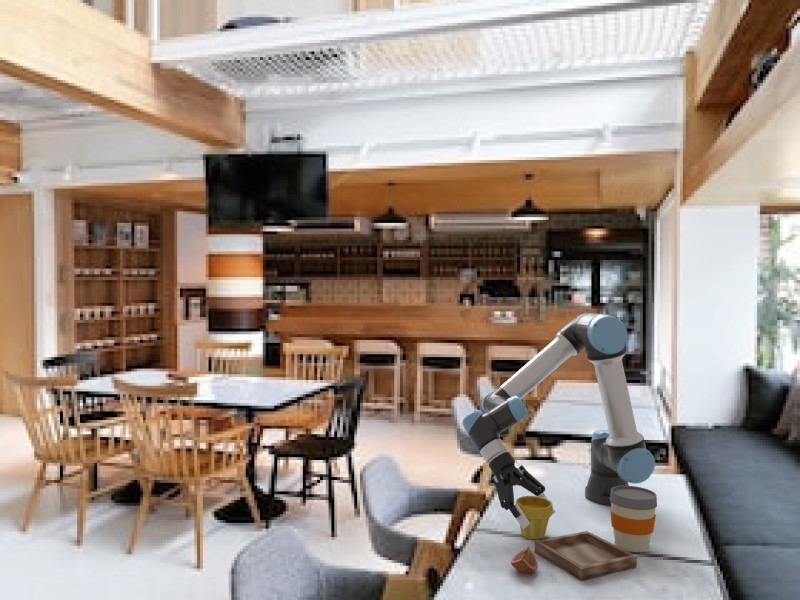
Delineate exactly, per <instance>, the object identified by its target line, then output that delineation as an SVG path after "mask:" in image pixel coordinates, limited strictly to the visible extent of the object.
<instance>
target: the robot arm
mask: <svg viewBox="0 0 800 600" xmlns="http://www.w3.org/2000/svg"><path fill="white" fill-rule="evenodd" d="M628 335H629V334H628V330H627V327H626V325H625V324H624V322H623V321H622V320H620V319H619V318H618V317H616V316H613V315H610V314H606V313H595V312H584V313H582V314H579V315H578V316H576V317H575V318H573V319H571V320H570V321H569V322H567V324H566V325H564V327H562V328H561V329H560V330H559V331H557V332H556V334H555V338H554V339H553V340H552V341H551V342H549V344H547V345H546V347H544V348H543V349H542V350H541V351H540V352H538V353H537V354H536V355H535V356H534V357H533V358H532V359H530V360H529V361H528V362H527V363H526V364H525V365H524V366H522V367H521V368H520V369H519V370H518V371H517V372H516V373H514V374H513V375H512V376H511V377H510V378H509V379H507V381H505V382H504V383H503V384H502V385H501V386H499V387H498V388H497V389H495V391H491V392H487V393H486V394H485V395H483V397H482V398H481V403H480V404H481V408H482V410H483V411H484V412H483V411H482V410H480V409H475V410H474V411H472V412H470V413H468V414H467V415H466V416H465V417H464V418H463V419H462V427H463V428H464V430H465V432H466V434H467V435H468V437H469V438H470V440H471V441H472V443H473V444H474V446H475V447H476V449H477V450H478V452H479V454H480V456H482V457H483V459H484V461H485V462H486V464H488V468H489V469H490V470H491V472H492V473H493V477H492V478H491V480H492V481H493V484H494V486H495V490H496V492H497V497H498V501H499V504H500V507H501V509H504V510H505V511H508V510H509V511H510V513H511V515H512V516H513V518H515V520H516V521H517V523H518V524H519V526H521V527H522V529H525V528H526V527H527V526H528V525H530V522H529V521H528V519H527V518H526V516H525V515H524V513H523V512H522V510H521V509H520V507H519V506H518V504H516V503H515V495H514V487H515V486H518V487H519V486H520V487H522V488H523V489H525V490H526V491H527V492H529V493H531V494H533V496H537V497H542V498H545V499H548V498H547V496H546V495H545V493H544V492H546V486H544V485H543V484H542V482H540V481H539V480H538V479H536V477H534V475H532V474H531V473H530V472H529V471H528V470H527V469H526V467H524V465H523V464H522V465H519V466H518V467H516V466H515V463H516V460H515V458H514V457H513V456H512V454H511V453H510V451H508V447H507V446H506V445H505V443H504V442H503V440H502V439H501V438H500V437H499V435H500V434H502V433H503V432H504V431H506V430H508V429H510V428H511V427H513V426H514V425H516V424H517V423H520V422H521V421H523V420H524V419H525V418H526V417H527V416H528V415H529V414H528V409H527V407H526V405H525V404H524V402H523V400H522V399H523V398H524V397H526V396H527V395H528V394H529V393H530V392H531V391H533V389H534V388H536V387H537V386H538V385H539V384H541V382H543V380H545V379H546V378H547V377H548V376H549V375H550V374H552V373H553V372H554V371H555V370H556V369H558V368H559V367H560V366H561V365H562V364H563V363H565V362H566V361H567V360H568V359H569V358H570V357H571V356H577V355H578V354H580V353H581V352H582V351H585V353H586V358H587V360H588V362H590V363H592V364H593V366H594V367H593V368H594V370H595V371H594V372H595V376H596V379H597V384H598V390H599V393H600V399H601V403H602V408H603V412H604V416H605V421H606V425H607V426H606V427H607V429H599V430H598V429H597V430H595V431H593V432H592V435H591V436H592V438H591V451H590V453H591V454H590V455H591V456H590V459H591V460H590V475H589V478H588V481H587V484H586V486H585V489H584V496H585V498H586V499H588V500H589V501H592V502H594V503H596V504H597V503H598V504H602V505H608V506H611V501H610V493H611V489H612V488H613V487H616V486H630V484H641V483H644V482H646V481H647V480H648V479H649V478H650V477H651V476H652V474H653V473H654V471H655V467H656V460H655V457H654V455H653V454H652V453H651V451H650V450H648V449H647V446H646V441H645V438H644V435H643V434H642V433H641V432H639V431H638V429H637V424H636V421H635V415H634V411H633V406H632V402H631V397H630V392H629V388H628V383H627V378H626V374H625V368H624V366H623V365H624V364H623V360H622V359H623V358H624V356H625V355H626V350H625V346H626V343H628V339H629V336H628ZM556 512H557V511H556V510H555V508H554V507H552V516H553V515H554V514H556Z"/></svg>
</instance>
